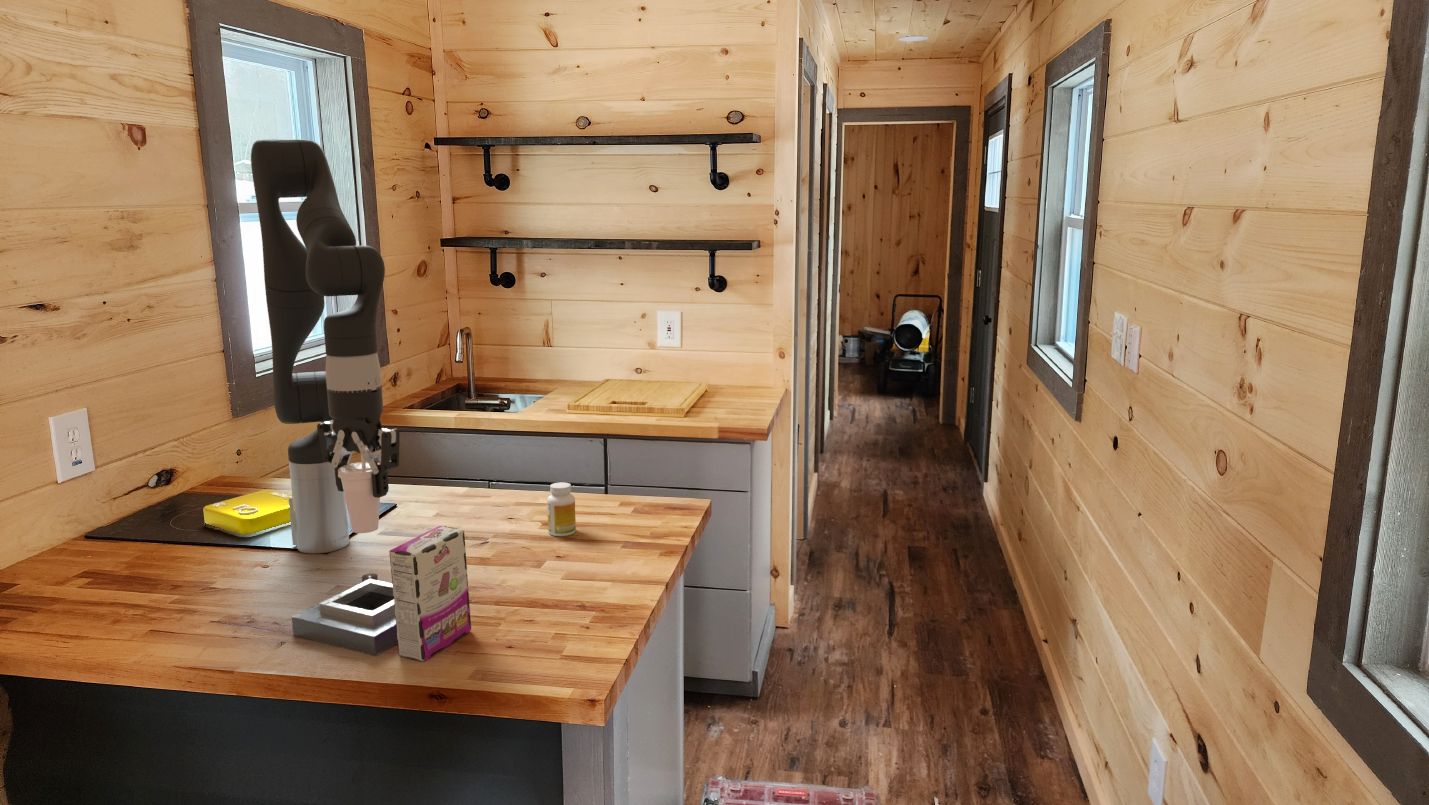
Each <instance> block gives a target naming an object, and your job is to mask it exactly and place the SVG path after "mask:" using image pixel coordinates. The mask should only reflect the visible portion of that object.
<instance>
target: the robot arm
mask: <svg viewBox="0 0 1429 805" xmlns="http://www.w3.org/2000/svg"><path fill="white" fill-rule="evenodd" d="M250 168H251V175H252V180H253V181H252V182H253V187H254V188H253V189H254V195H255V200H256V201H255V202H256V207H257V212H258V219H259V220H258V221H259V225H260V234H261V242H262V246H261V247H262V257H263V258H262V259H263V260H262V261H263V274H264V275H263V276H264V287H265V297H266V307H267V315H268V323H269V328H270V329H269V331H270V336H271V337H270V338H271V350H272V351H271V353H272V356H271V357H272V386H273V388H272V389H273V392H272V393H273V404H274V410H275V414H276V418H277V419H278V420H279V421H280V422H281V423H282V424H285V425H296V424H297V425H299V424H308V423H309V424H310V423H318V424H317V425H316V429H315V430H314V431H313V432H311V433H309V434H307V435H306V436H304V437H301V438H299V439H296V440H294V441H292V442H291V443H289V445H288V447H287V457H288V459H287V460H288V468H289V477H290V487H291V495H292V497H291V498H289V509H290V520H291V525H290V527H291V538H292V546H293V545H296V546H297V547H296V549H298V550H297V551H298V552H301V553H305V554H324V553H330V552H335V551H338V550H340V549H343V548H345V547H347V546H348V545H349V544H350V535H349V532H350V531H349V522H348V521H349V520H348V509H347V504H346V500H345V495H344V491H343V486H342V481H341V478H339V477H338V469H339V468H340V467H342V466H344V465H348V464H350V461H351V459H352V456H353V454H354V453H355V452H356V453H357V454H360V455H361V454H362V457H363V459H364V460H365V462H368V463H369V465H370V468H371V470H372V472H373V474H372V488H373V496H374V497H376V498H380V499H381V498H382V497H385V496H386V495H387V494H388V492H389V488H390V487H389V477H388V476H389V474H388V472H389V471H390V470H392V469H396V468H398V467H399V466H400V437H401V436H400V430H399V429H398V428H393V429H388V428H384V427H383V424H382V422H381V416H382V414H384V401H383V399H384V398H383V388H382V387H383V386H382V371H381V365H380V360H379V354H378V343H377V342H378V341H377V316H378V315H377V314H378V309H379V308H378V307H379V303H380V299H381V298H380V297H381V293H382V290H383V285H384V280H385V277H386V276H385V274H386V267H385V261H384V259H383V257H382V255H381V253H380V252H379V251H378V250H377V249H376V248H374V247H373V246H371V245H357V241H356V240H357V239H356V235H355V233H354V230H352V228H351V225H350V223H349V221H348V219H347V217H346V216H345V214H344V212H343V210H342V208H341V206H340V202H339V198H338V193H337V190H336V185H335V183H334V178H333V176H332V172H331V169H330V165H329V161H328V160H327V155H326V154H325V152H324V149H323V148H322V146H320V144H319V143H317V141H314V140H312V139H304V138H284V139H283V138H277V139H276V138H272V139H271V138H269V139H268V138H266V139H265V138H264V139H257V140H255V141H254V142H253V143H252V147H251V150H250ZM281 198H305V199H304V200H303V201H302V203H301V204H300V206H299V207H298V211H297V213H296V222H295V223H296V229H297V230H298V234H299V236H300V238H301V240H302V241H303V242H302V241H301V240H300V239H299V238H298V237H297V235H296V234H295V233H294V231H293V229H292V228H291V227H290V225H289V224H288V222H287V220H286V219H285V217H284V215H283V213H282V210H281V208H280V199H281ZM342 296H345V297H346V296H357V297H356V300H355V302H353V305H352V306H351V307H348V308H347V309H344V310H341V311H340V310H339V311H337V312H333V313H331V314H329V315H327V316H326V317H325V318H324V320H323V332H324V333H323V334H324V346H325V371H324V370H323V371H321V370H320V371H309V372H307V371H306V372H294V373H293V370H294V365H295V362H296V360H297V357H298V355H299V352H300V350H301V349H302V346H303V345H304V343H305V342H306V340H307V339H308V337H309V336H310V335H311V333H312V331H313V330H314V329H315V327H316V325H318V322H319V320H320V318H321V317H322V315H323V312H324V309H325V304H326V303H325V297H342ZM319 422H320V423H319ZM374 449H375V451H373V450H374ZM372 451H373V452H372ZM378 463H379V465H378Z"/></svg>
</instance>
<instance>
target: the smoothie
mask: <svg viewBox="0 0 1429 805" xmlns="http://www.w3.org/2000/svg"><path fill="white" fill-rule="evenodd" d="M360 461H361V462H353V463H349V464H347V465H344V466H342V467H340V468H339V469H338V477H339V478H341V481H342V486H343V491H344V495H345V500H346V506H347V514H348V517H349V522H350V526H351V530H352V533H355V534H368V533H372V532H375V531H377V530H378V529H379V517H380V504H381V503H380V502H381V497H380V498H376V497H374V496H373V488H372V474H373V472H372V470H371V468H370V465H369V463H368V462H367V461H365V460H364V459H363V457H362V454H361V453H360ZM377 463H378V465H379V464H380V463H379V462H377Z"/></svg>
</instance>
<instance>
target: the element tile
mask: <svg viewBox="0 0 1429 805" xmlns="http://www.w3.org/2000/svg"><path fill="white" fill-rule="evenodd" d="M291 497H292V494H288V493H283V492H280V491H276V490H270V489H262V490H259V491H256V492H255V491H254V492H251V493H248V494H243V495H240V496H237V497H233V498H230V499H226V500H221V501H218V502H215V503H211V504H208V505H205V506H204V507H203V509H202V510H203V517H204V518H203V519H204V524H205V523H206V524H209V525H212V526H215V527H219V528H221V529H224V530H227V531H231V532H235V533H237V534H242V535H245V534H246V535H247V534H253V533H256V532H259V531H262V530H266V529H269V528H272V527H276V526H279V525H282V524H286V523H289V522H291V520H290V509H289V498H291Z"/></svg>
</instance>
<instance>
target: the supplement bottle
mask: <svg viewBox="0 0 1429 805" xmlns="http://www.w3.org/2000/svg"><path fill="white" fill-rule="evenodd" d="M549 486H550V487H549V488H550V495H549V496H548V497H547V498H546V501H547V503H546V505H547V506H546V507H547V508H546V509H547V529H548V530H547V531H548V534H549V535H551V536H554V537H567V536H572V535H573V534H575V532H576V529H577V526H576V525H577V523H576V522H577V521H576V498H575V496H574V494H573V493H572V485H571V483H568V482H560V481H559V482H554V483H551V484H550V485H549Z"/></svg>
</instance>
